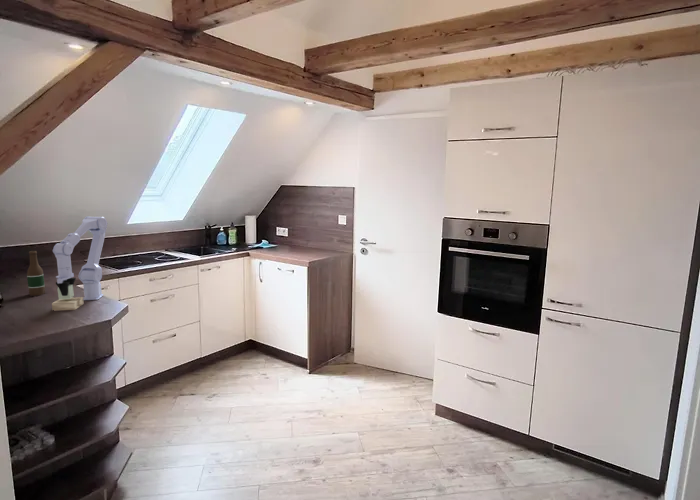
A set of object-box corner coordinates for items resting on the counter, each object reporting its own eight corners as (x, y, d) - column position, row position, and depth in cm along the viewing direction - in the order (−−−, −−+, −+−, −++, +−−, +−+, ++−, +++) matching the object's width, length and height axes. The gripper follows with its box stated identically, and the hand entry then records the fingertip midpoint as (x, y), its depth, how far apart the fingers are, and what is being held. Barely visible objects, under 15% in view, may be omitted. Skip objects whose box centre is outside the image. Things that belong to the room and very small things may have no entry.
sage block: (63, 296, 218) (61, 285, 217) (74, 296, 219) (72, 284, 218) (58, 299, 213) (57, 287, 212) (70, 298, 214) (68, 287, 213)
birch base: (62, 305, 221) (61, 297, 220) (83, 304, 223) (83, 297, 222) (52, 311, 211) (51, 303, 211) (75, 310, 213) (74, 302, 212)
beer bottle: (33, 292, 242) (28, 250, 238) (48, 292, 244) (44, 249, 240) (25, 296, 235) (20, 252, 231) (42, 295, 236) (37, 252, 232)
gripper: (61, 264, 220) (64, 290, 222) (48, 270, 206) (51, 298, 208) (77, 264, 221) (79, 290, 223) (65, 270, 207) (68, 297, 209)
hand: (67, 294), depth 216 cm, fingers closed on sage block, 5 cm apart
